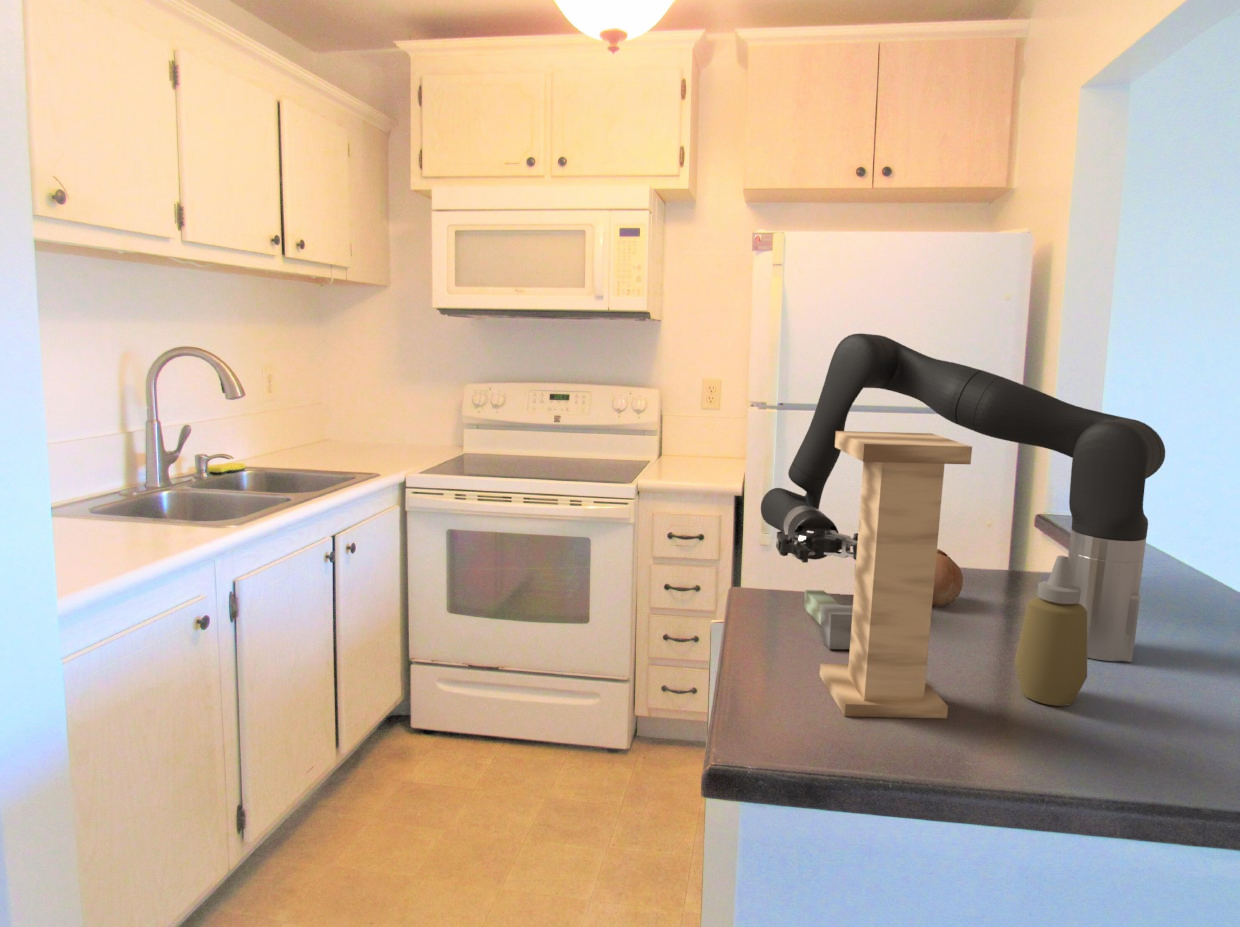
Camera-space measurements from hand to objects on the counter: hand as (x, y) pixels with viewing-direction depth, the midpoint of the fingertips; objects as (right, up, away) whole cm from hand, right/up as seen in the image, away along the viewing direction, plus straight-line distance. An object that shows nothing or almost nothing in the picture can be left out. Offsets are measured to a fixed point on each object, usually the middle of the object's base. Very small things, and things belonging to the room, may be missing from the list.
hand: (834, 556), depth 126 cm
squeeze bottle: (+21, -15, -21) cm, 34 cm away
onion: (+20, -10, +15) cm, 26 cm away
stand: (0, -15, -22) cm, 26 cm away
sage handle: (-1, -11, +1) cm, 11 cm away
